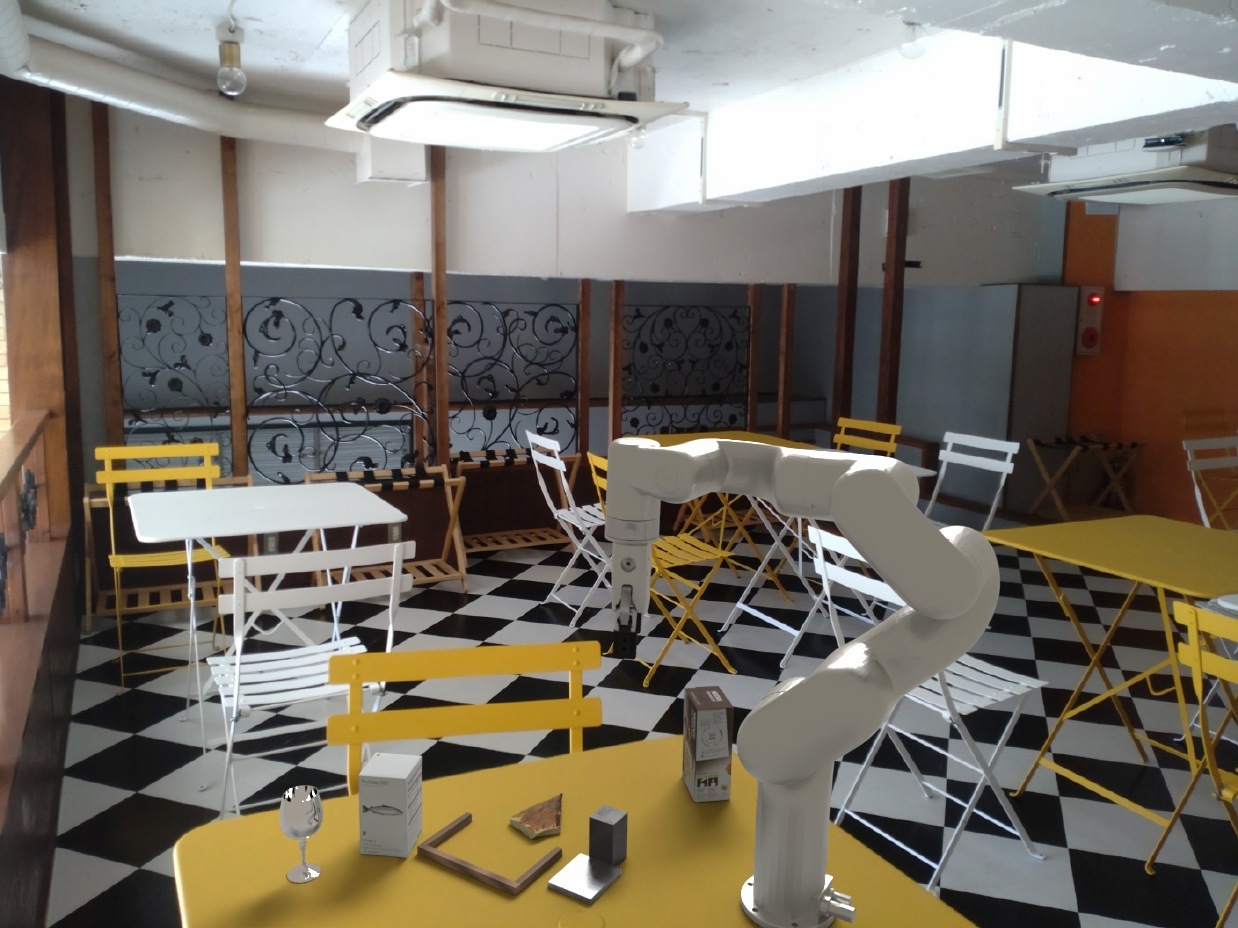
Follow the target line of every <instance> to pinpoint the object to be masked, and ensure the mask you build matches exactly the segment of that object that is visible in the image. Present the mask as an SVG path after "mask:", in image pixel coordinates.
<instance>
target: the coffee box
mask: <svg viewBox="0 0 1238 928" xmlns="http://www.w3.org/2000/svg"><path fill="white" fill-rule="evenodd" d="M683 690H684V691H683V692H684V694H683V695H684V698H683V699H684V700H683V730H682V731H683V735H682V736H683V738H682V739H683V740H682V769H681V770H682V773H681V774H682V775H681V777H682V780H683V781H684V783H685V785H686V787H687V790H688V792H689V794H690V796H691V798H692V800H693V802H694V803H702V802H703V803H704V802H715V801H716V802H718V801H728V800H730V799H731V791H732V790H731V785H732V784H731V783H732V760H733V739H734V737H733V736H734V734H733V733H734V712H735V711H734V710H735V707H734V706H733V704H732V703H731V701H730V699H729V698H728V697H727V696H726V694H725V693H724V692H723V690H722V689H721V687H720V686H719V685H709V686H707V685H706V686H704V685H703V686H696V687H686V688H684V689H683Z"/></svg>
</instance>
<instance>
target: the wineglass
mask: <svg viewBox="0 0 1238 928" xmlns="http://www.w3.org/2000/svg"><path fill="white" fill-rule="evenodd" d="M281 797H282V798H281V802H280V808H279V814H278V818H279V819H278V820H279V826H280V830H281V832H282V834H283V835H284V836H285V837H287V838H288V839H291V840H296V841H298V846H299V849H300V853H301V863H300V864H298V865H295V866H293V867H292V868H290V869H289V870H288V871H287V874H286V879H287V880H288V881H289V882H291V883H297V884H303V883H307V882H311V881H313V880H314V879H316V878H317V877H318V876H319V875H320V874H321V867H320V866H319V865H318V864H317V863H311V862H307V863H306V854H305V853H306V847H307V840H306V839H309V838H311V837H313V836H314V835H315V834H317V833H318V832H319V830H320V829H321V827H322V826H323V825H322V824H323V821H324V808H323V807H324V806H323V803H322V799H321V795H320V792H319V790H318V788H317V787H315V786H312V785H305V784H304V785H297V786H294V787H291V788H289V789H287V790H286V791H284V793H283V795H282V796H281Z"/></svg>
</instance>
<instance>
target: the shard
mask: <svg viewBox="0 0 1238 928" xmlns="http://www.w3.org/2000/svg"><path fill="white" fill-rule="evenodd" d="M563 796H564V795H563V792H561V793H559V794H558V795H555V796H552V797H551V798H550V799H549V798H548V799H547V800H545V801H541V802H538V803H536V804H535V805H532V806H530V807H528V808H526V809H523V810H521V811H519V812H518V813H516V814H514V815H512V816H511V818H510V819H509V823H510V824H509V825H511V826H513V827H514V828H515V829H517V830H519V831H521V832H523V834H525V835H526V836H527V837H529V839H530V840H531V839H532V840H533V839H536V838H537V837H543V836H548V835H555V834H556V835H557V834H559V835H560V833H561V832H562V814H563V802H562V800H563Z"/></svg>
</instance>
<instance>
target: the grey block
mask: <svg viewBox="0 0 1238 928" xmlns="http://www.w3.org/2000/svg"><path fill="white" fill-rule="evenodd" d="M588 818H589V820H588V821H589V823H588V825H589V826H588V827H589V828H588V829H589V830H588V855H587V854H583V853H581V852H580V853H579V854H577V856H575V857H574V858H573V859H572V860H570V862H568V863H567V864H566V865H565V866H564V867H563V868H561V870H560V871H558V872H557V873H556V874H555V875H554V876H552V877H551V879H549V880H548V881H547V887H548V888H550V889H551V890H554V891H557V892H558V893H561V894H565V895H566V896H570V897H571V898H573V899H576V900H579V901H582V902H584V903H586V904H588V905H592V904H593V903H594V902H595V901H596V900H597V899H598V898H599V897H600V896H601V895H602V894H603V893H604V891H606V890H607V889H608V888H609V887H610V886H611V885H612V884H613V883H614V882H615V881H616V880H617V879H618V878H619V877H620V876H622V868H621V867H619V865H620V863H621V862H623V861H624V860H625V859H627V856H628V822H629V821H628V819H629V818H628V812H627V811H624V810H622V809H618V808H615V807H613V806H611V805H607V804H603V805H602V806H601V807H599V808H598V809H597V810H596V811H594V812H593V813H592V814H591V815H590V816H588Z"/></svg>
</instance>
